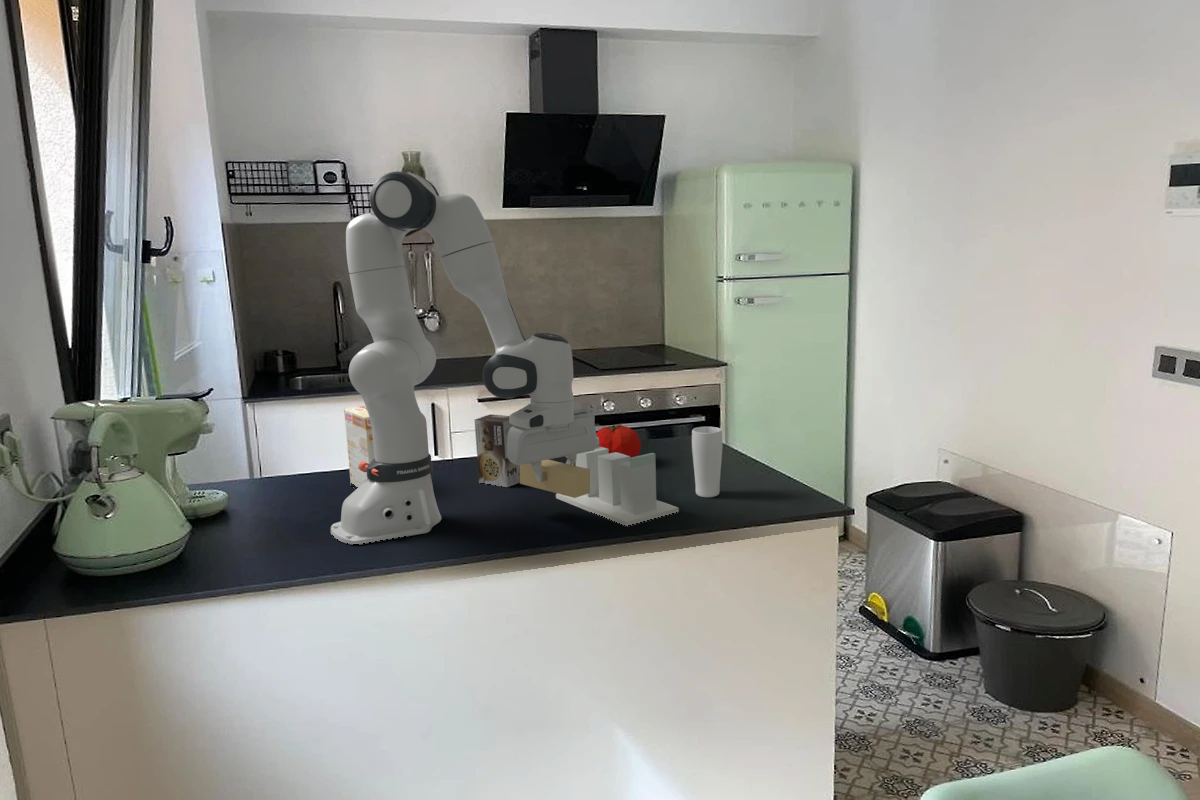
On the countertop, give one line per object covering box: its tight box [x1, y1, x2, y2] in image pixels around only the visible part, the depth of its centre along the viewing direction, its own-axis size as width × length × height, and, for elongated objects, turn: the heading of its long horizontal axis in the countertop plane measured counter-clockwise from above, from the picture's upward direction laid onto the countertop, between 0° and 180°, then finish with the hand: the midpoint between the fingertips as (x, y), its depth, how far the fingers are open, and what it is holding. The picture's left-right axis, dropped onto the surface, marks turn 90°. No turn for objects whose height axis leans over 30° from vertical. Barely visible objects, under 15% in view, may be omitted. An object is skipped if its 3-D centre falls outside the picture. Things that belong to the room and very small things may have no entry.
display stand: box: [555, 437, 680, 527], centre depth 188 cm, size 14×26×13 cm, turn 36°
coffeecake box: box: [343, 405, 375, 487], centre depth 205 cm, size 15×7×20 cm, turn 34°
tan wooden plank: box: [519, 459, 590, 498], centre depth 179 cm, size 4×16×5 cm, turn 48°
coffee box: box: [473, 413, 520, 488], centre depth 208 cm, size 9×6×16 cm
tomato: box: [596, 422, 642, 458], centre depth 220 cm, size 13×12×11 cm
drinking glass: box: [691, 426, 723, 498], centre depth 193 cm, size 7×7×15 cm
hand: (554, 478), depth 179 cm, fingers closed on tan wooden plank, 5 cm apart
